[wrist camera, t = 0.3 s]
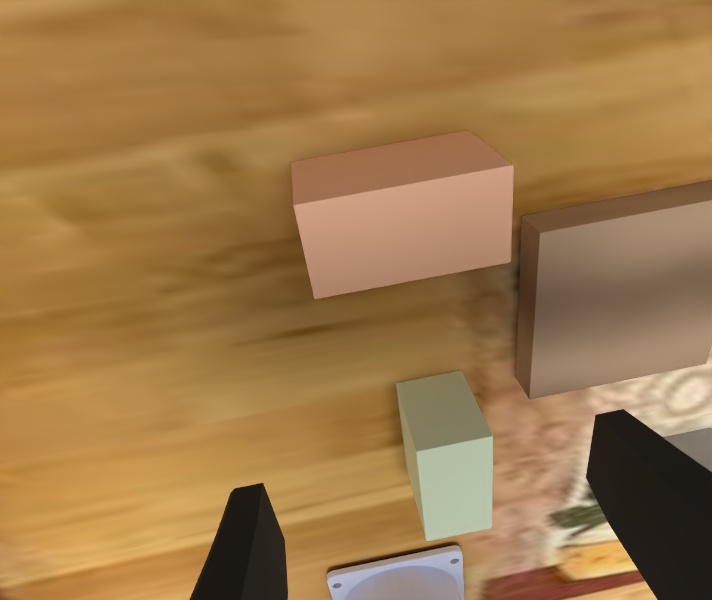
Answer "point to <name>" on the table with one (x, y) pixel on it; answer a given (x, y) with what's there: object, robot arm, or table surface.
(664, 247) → the walnut slab
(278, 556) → the robot arm
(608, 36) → the table surface
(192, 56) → the table surface
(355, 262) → the terracotta brick
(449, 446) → the sage brick
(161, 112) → the table surface
